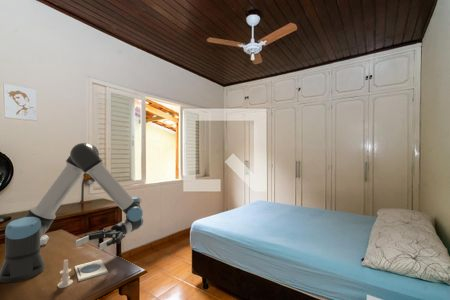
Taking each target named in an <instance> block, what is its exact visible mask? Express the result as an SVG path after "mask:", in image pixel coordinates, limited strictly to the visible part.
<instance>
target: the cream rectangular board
mask: <svg viewBox="0 0 450 300" xmlns="http://www.w3.org/2000/svg"><path fill="white" fill-rule="evenodd" d="M74 271H75V274H76V277H77V280H78V282H81V281H85V280H88V279H91V278H95V277H99V276H101V275H104V274H108V272H109V271H108V269H107V267H106V265H105V264H104V262H103V261H102V259H96V260H93V261H89V262H86V263H81V264H77V265H74Z"/></svg>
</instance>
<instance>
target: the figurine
mask: <svg viewBox="0 0 450 300" xmlns="http://www.w3.org/2000/svg"><path fill="white" fill-rule="evenodd" d="M49 239H50V237H49V236H48V235H47V234H45V233H44V234H43V235H42V237H41V238H40V246H44V245H46V244H47V242H48V241H49Z"/></svg>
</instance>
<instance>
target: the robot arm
mask: <svg viewBox="0 0 450 300" xmlns="http://www.w3.org/2000/svg"><path fill="white" fill-rule="evenodd" d="M65 163H66V166H65V167H64V168H63V170H62V171H61V172H60V174H59V175H58V176H57V178H56V179H55V180H54V182H53V183H52V185H51V186H50V188H49V189H48V190H47V192H46V193H45V194H44V195H43V197H42V198H41V200H40V201H39V202H38V204H37V205H36V206H33V207H31V208H30V209H29V210H28V211H27V213H26V214H25V216H24V217H20V218H17V219H14V220H12V221H10V222H9V223H7V224H6V226H5V232H4V235H5V237H4V239H5V240H4V261H3V263H2V266H1V268H0V283H2V284H8V283H9V284H10V283H18V282H22V281H26V280H28V279H31V278H34V277H35V276H38V275H39V274H41V273H42V272H43V271H44V270H45V261H44V259H43V257H42V254H41V245H40V238H41V237H42V235H43V234H44V235H45V233H46V232H47V231H49V229H50V227H51V225H52V224H53V222H54V220H55V219H56V212H57V211H58V209H59V208H60V207H61V206H62V204H63V202H64V201H65V200H66V198H67V197H68V195H69V194H70V192H71V191H72V189H74V187H75V185H76V184H77V183H78V181H79V180H80V178H82V175H83V174H88V175H89V176H90V177H91V179H93V180H94V181H95V182H96V183H97V185H98V186H99V187H100V188H101V189H102V190H103V191H104V192H105V193H106V195H108V197H110V199H112V201H113V202H114V203H115V204H116V205H117V206H118V208H120V210H122V212H123V213H124V214H125V220H123V221H120V222H118V223H116V224H114V225H112V226H111V228H110V229H108V230H106V229H101V230H97V231H92V232H89V233H85V234H84V237H82V238H79V239H77V240H75V248H76V247H80V246H81V245H84V244H86V243H88V242H89V241H92V240H98V239H106V240H104V241H103V242H101V243H99V251H102V250H104V249H106V248H107V247H109V246H111V245H115V244H117V245H119V244H120V243H121V242H122V241H123V238H125V237H126V235H129V234H130V233H132V232H134V231H136V230H138V229H140V228H141V227H142V226H143V225H144V218H143V209H142V207H141V205H140V204H141V201H140V200H141V199H140V197H139V196H131V195H130V194H129V193H128V192H127V190H126V189H125V188H124V187H123V185H121V184H120V182H119V181H118V180H117V179H116V177H114V176H113V175H112V173H111V172H110V171H109V170H108V169H107V168H106V166H105V165H104V164H103V163H104V162H103V159H101V157H100V152H99V150H98V148H97V147H96V146H95V145H94V144H91V143H89V142H82V143H81V142H80V143H77V144H75V145H74V146H73V147H72V148H71V150H70V153H69V156H68V157H67V159H66V160H65Z"/></svg>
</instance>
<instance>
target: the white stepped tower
mask: <svg viewBox="0 0 450 300" xmlns="http://www.w3.org/2000/svg"><path fill="white" fill-rule="evenodd" d="M62 268H63V269H62V270H60V271H59V274H61V278H60V281H59V283H58V284H57V287H58V288H59V289H63V288H67V287H70V286H72V285H73V283H74V280H73V279H71V276H70V274H69V273H70V272H71V271H72V268H69V259H67V258H65V259H64V260H63V267H62Z"/></svg>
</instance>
